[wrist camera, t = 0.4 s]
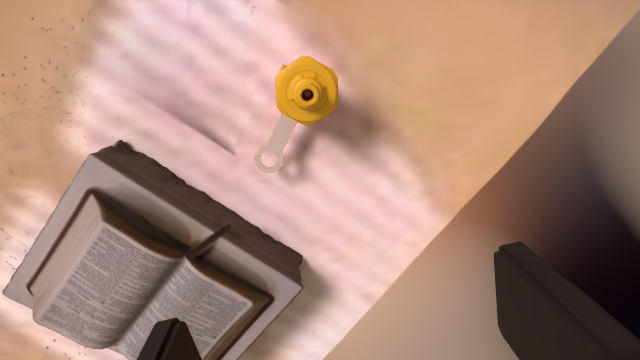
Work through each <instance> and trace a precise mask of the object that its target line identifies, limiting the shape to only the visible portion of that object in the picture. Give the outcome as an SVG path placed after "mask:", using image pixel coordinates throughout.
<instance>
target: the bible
mask: <svg viewBox="0 0 640 360" xmlns="http://www.w3.org/2000/svg"><path fill="white" fill-rule="evenodd" d="M301 263H302V255H301V254H299V253H298V252H296V251H294V250H293V249H291V248H290V247H288V246H286V245H284V244H283V243H281V242H280V241H276V240H274V239H273V238H272V237H271V236H269V235H267V234H264V233H263V232H262V231H261V230H260V228H259V227H256V226H254V225H253V224H251V223H250V222H248V221H246V220H244V219H243V218H242V217H241V216H239V215H238V214H237V213H235V212H234V211H232V210H230V209H228V208H227V207H225V206H224V205H222V204H221V203H219V202H217V201H215V200H213V199H212V198H210V197H209V196H208V195H207V194H206V193H204V192H202V191H199V190H197V189H195V188H194V187H192V186H190V185H186V182H185V181H184V180H183V179H181V178H179V177H177V176H176V175H175V174H174V173H173V172H171V171H170V170H169V169H167V168H166V167H164V166H162V165H161V164H159V163H158V162H157V161H156V160H154V159H153V158H150V157H148V156H146V155H145V154H143V153H141V152H136V151H133V150H130V149H128V148H127V146H126V145H125V143H124V142H123V141H122V140H119V141H117V142H116V143H115V144H114V145H113V146H109V147H106V148H103V149H101V150H99V151H98V152H96V153H92V154H90V155H89V156H88V157H87V159H86V160H85V162H84V163H83V165H82V166H81V168H80V169H79V171H78V172H77V174H76V176H75V178H74V180H73V181H72V183H71V184H70V186H69V187H68V189H67V190H66V191H65V193H64V194H63V196H62V198H61V199H60V201H59V204H58V205H57V206H56V208H55V210H54V211H53V213H52V214H51V216H50V217H49V219H48V221H47V224H46V225H45V226H44V228H43V229H42V230H41V232H40V233H39V235H38V237H37V239H36V240H35V242H34V243H33V245H32V247H31V248H30V250H29V252H28V253H27V255H26V256H25V258H24V260H23V261H22V263H21V264H20V266H19V267H18V268H17V269H16V271H15V273H14V274H13V276H12V277H11V280H10V282H9V283H8V284H7V286H6V288H5V289H4V290H3V292H2V293H3V295H5V296H6V297H8V298H10V299H12V300H14V301H16V302H18V303H20V304H23V305H25V306H27V307H29V308H31V309H32V310H33V320H34V321H35V322H36V323H37V324H39V325H42V326H44V327H46V328H48V329H51V330H53V331H55V332H57V333H59V334H61V335H63V336H65V337H67V338H69V339H71V340H73V341H74V342H76V343H78V344H80V345H83V346H86V347H89V348H93V349H104V348H108V349H110V350H113V351H115V352H118V353H120V354H122V355H124V356H125V357H126V358H127V359H129V360H137V358H138V356H139V354H140V352H141V350H142V348H143V346H144V344H145V342H146V340H147V338H148V336H149V334H150V332H151V330H152V328H153V327H154V325H155V323H156V322H158V321H162V320H167V319H171V318H178V319H179V320H180V321H184V322H186V324H187V326H188V328H189V331H190V333H191V335H192V338H193V340H194V342H195V345H196V347H197V349H198V351H199V354H200V356H201V358H202V360H238V359H239V358H240V357H241V355H242V354H243V353H244V352H245V351H246V350H247V349H248V348H249V347H250V345H251V344H252V343H253V342H254V341H255V340H256V339H257V338H258V337H259V336H260V335H261V334H262V332H263V331H264V330H265V329H266V328H267V326H268V325H269V324H270V323H272V322H273V321H274V320H275V319H276V318H277V317H278V315H279V314H280V313H281V312H282V311H283V310H284V309H285V308H286V307H287V306H288V305H289V304H290V303H291V302H292V300H293V299H294V298H295V297H296V296H297V295H298V294H299V293H300V292H301V290H302V289H303V285H302V284H301V274H300V270H299V266H300V264H301Z"/></svg>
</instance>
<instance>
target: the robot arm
mask: <svg viewBox="0 0 640 360" xmlns="http://www.w3.org/2000/svg"><path fill="white" fill-rule="evenodd" d="M494 267H495V283H496V299H497V316H498V326H499V329H500V332H501V333H502V336H503V337H504V339H505V340H506V341H507V343H508V344H509V346H510V347H511V349H512V350H513V351H514V353H515V354H516V356H517V357H518V358H519V360H640V340H639V339H638V338H637V337H635V336H634V335H633V334H632V333H631V332H629V331H628V330H627V329H626V328H625V327H624V326H623V325H621V324H620V323H619V322H618V321H617V320H615V319H614V318H613V317H612V316H611V315H610V314H609V313H607V312H606V311H605V310H604V309H603V308H602V307H600V306H599V305H598V304H597V303H596V302H595V301H593V300H592V299H591V298H590V297H589V296H588V295H587V294H585V293H584V292H583V291H582V290H581V289H579V288H578V287H577V286H576V285H574V284H573V283H572V282H570V281H567V280H565V279H564V278H563V277H562V276H560V275H559V274H558V273H557V272H556V271H555V270H553V269H552V268H551V267H550V266H549V265H548V264H547V263H546V262H544V261H543V260H542V259H541V258H540V257H539V256H537V255H536V254H535V253H534V252H533V251H532V250H531V249H530V248H528V247H527V246H526V245H525V244H524V243H522V242H515V243H510V244H505V245H502V246H500V247H499V251H497V252H495V253H494ZM137 360H202V358H201V356H200V354H199V351H198V349H197V347H196V345H195V342H194V340H193V338H192V335H191V333H190V331H189V328H188V326H187V324H186V322H184V321H180V320H179V319H178V318H171V319H167V320H162V321H158V322H156V323H155V325H154V327H153V328H152V330H151V332H150V334H149V336H148V338H147V340H146V342H145V344H144V346H143V348H142V350H141V352H140V354H139V356H138V358H137Z"/></svg>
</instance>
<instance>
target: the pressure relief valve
mask: <svg viewBox="0 0 640 360" xmlns="http://www.w3.org/2000/svg"><path fill="white" fill-rule="evenodd" d="M275 87H276V100H277V107H278V109H279V111H280V112H281V113H282V115H281V117H280V119H279V121H278V123H277V125H276V127H275V129H274V131H273V133H272V135H271V137H270V140H269V141H268V143H267V144H266V145H264V146H262V147H261V148H259V149H258V151H257V152H256V154H255V163H256V165H257V167H258V168H259V169H260V170H261V171H263V172H266V173H273V172H276V171H278V170H279V169H280V168H281V166H282V165H283V160H284V158H283V150H284V148H285V146H286V144H287V142H288V140H289V138H290V136H291V134H292V132H293V130H294V128H295V126H296V124H297V122H299V123H301V124H303V125H313V124H315V123H316V122H318V121H320V120H321V119H323V118H324V117H326V116H328V115H329V114H331V113H332V112H333V111H334V110H335V109H336V107H337V105H338V79H337V76H336V74H335V72H334V70H332V69H331V68H329V67H327V66H325V65H324V64H322V63H320V62H318V61H316V60H315V59H313V58H311V57H309V56H305V57H300V58H298V59H297V60H295V61H294V62H292V63H291V64H289V65H288V66H285V65H283V66H282V68H281V70H280V71H279V73H278V74H277V76H276V79H275ZM265 151H272V152H275V153H276V155H277V156H278V162H277V164H276V165H275V166H273V167H265V166H264V165H263V164H262V163H261V160H260V157H261V155H262V153H264V152H265Z"/></svg>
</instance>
